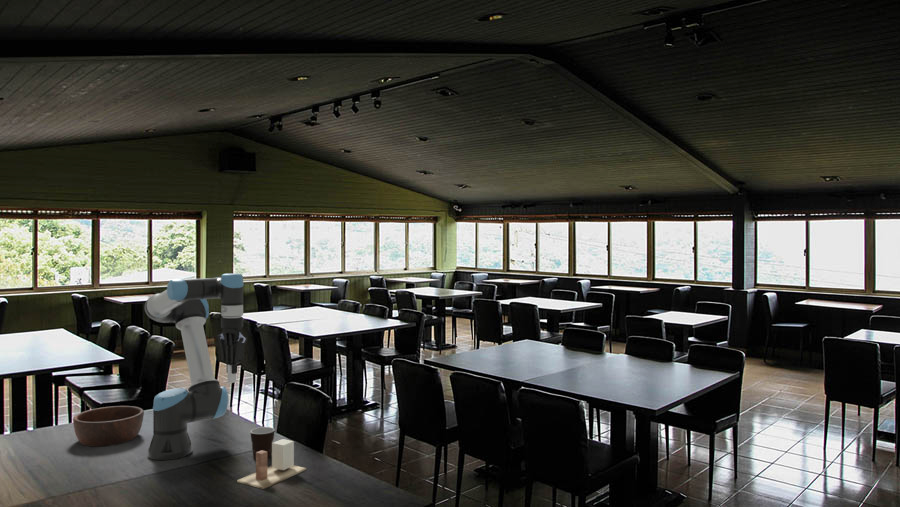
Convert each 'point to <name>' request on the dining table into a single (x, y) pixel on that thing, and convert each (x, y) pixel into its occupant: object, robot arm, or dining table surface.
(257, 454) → the stand
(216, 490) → the dining table surface
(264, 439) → the coffee mug
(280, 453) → the upright off-white block
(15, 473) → the dining table surface
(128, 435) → the wooden bowl
